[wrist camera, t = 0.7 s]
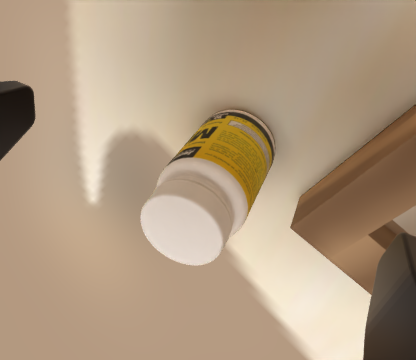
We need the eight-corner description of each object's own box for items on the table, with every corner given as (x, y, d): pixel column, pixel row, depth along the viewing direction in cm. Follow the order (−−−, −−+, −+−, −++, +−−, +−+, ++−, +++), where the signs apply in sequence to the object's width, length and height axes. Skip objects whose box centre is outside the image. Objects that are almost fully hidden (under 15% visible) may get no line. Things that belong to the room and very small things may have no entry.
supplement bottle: (227, 91, 22) (160, 165, 16) (293, 142, 22) (254, 237, 16) (187, 146, 25) (117, 228, 19) (245, 191, 25) (196, 287, 19)
